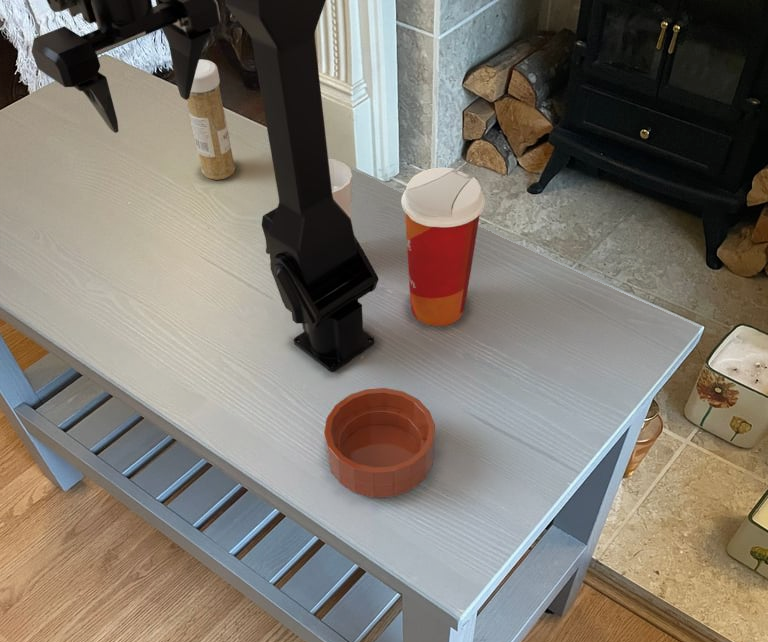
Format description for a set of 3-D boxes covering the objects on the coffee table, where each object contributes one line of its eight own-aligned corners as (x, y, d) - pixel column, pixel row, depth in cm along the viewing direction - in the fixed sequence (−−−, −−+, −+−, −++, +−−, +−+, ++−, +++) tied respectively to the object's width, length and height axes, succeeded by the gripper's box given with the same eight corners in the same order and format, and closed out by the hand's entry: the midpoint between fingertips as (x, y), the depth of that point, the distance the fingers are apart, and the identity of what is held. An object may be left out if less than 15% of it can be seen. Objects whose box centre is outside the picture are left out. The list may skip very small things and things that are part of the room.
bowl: (455, 458, 78) (457, 428, 75) (378, 520, 74) (377, 491, 71) (382, 403, 83) (381, 371, 79) (306, 458, 79) (301, 428, 75)
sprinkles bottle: (242, 173, 106) (223, 69, 95) (210, 185, 105) (188, 81, 94) (226, 157, 108) (206, 53, 97) (195, 168, 107) (171, 64, 96)
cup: (330, 235, 98) (323, 151, 89) (367, 260, 96) (364, 175, 86) (289, 260, 96) (277, 176, 87) (326, 286, 93) (318, 202, 84)
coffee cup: (430, 274, 94) (435, 154, 82) (488, 304, 91) (502, 184, 78) (385, 312, 90) (383, 193, 78) (444, 344, 87) (451, 225, 75)
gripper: (142, -102, 81) (176, 57, 94) (-27, -45, 74) (36, 119, 87) (208, -71, 77) (235, 92, 90) (35, -6, 70) (92, 161, 82)
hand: (150, 114), depth 87 cm, fingers open, 9 cm apart
